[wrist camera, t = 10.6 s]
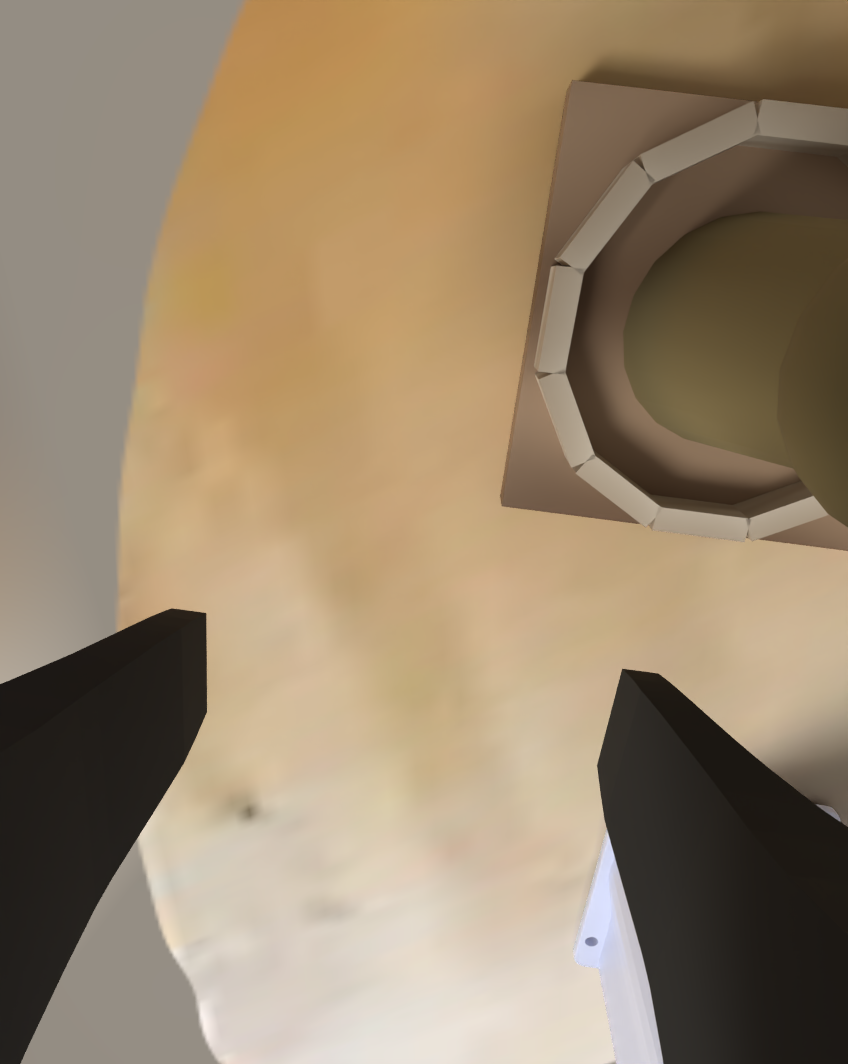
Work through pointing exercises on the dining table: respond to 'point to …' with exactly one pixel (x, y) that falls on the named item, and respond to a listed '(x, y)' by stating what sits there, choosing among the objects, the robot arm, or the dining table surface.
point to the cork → (751, 344)
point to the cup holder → (606, 295)
